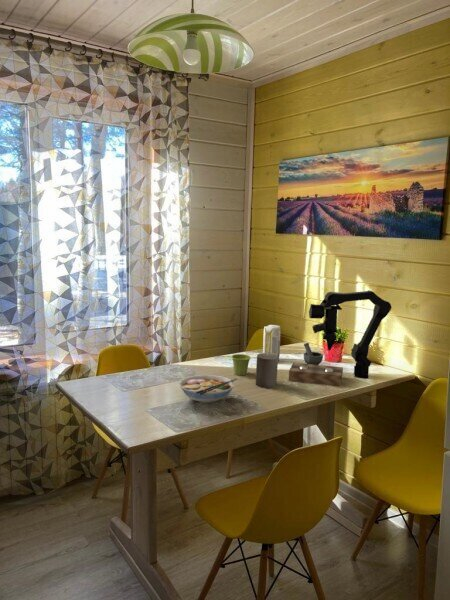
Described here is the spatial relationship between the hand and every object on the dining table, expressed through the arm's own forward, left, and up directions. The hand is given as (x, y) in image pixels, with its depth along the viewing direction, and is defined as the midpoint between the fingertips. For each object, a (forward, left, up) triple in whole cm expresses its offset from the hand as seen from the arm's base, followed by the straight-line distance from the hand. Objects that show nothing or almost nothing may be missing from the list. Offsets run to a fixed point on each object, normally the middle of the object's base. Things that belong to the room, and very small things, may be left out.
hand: (329, 350), depth 245 cm
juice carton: (+31, -17, -13) cm, 38 cm away
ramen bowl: (+46, +51, -13) cm, 70 cm away
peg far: (+11, +7, -13) cm, 18 cm away
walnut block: (+5, +7, -13) cm, 15 cm away
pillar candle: (+26, +23, -13) cm, 37 cm away
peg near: (-1, +7, -13) cm, 14 cm away
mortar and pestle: (+9, -13, -13) cm, 21 cm away
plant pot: (+41, +11, -13) cm, 45 cm away
